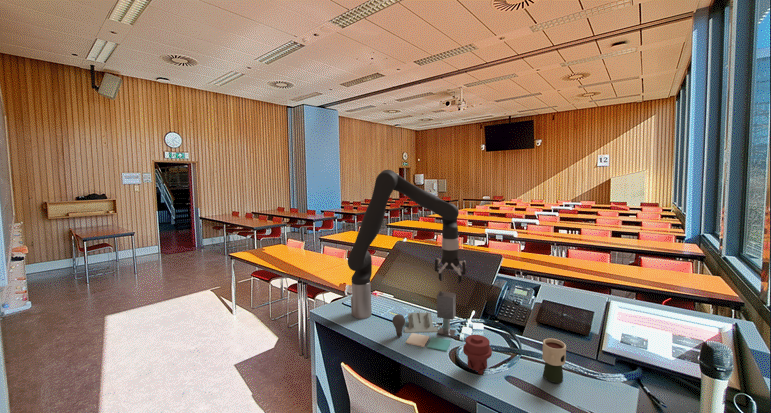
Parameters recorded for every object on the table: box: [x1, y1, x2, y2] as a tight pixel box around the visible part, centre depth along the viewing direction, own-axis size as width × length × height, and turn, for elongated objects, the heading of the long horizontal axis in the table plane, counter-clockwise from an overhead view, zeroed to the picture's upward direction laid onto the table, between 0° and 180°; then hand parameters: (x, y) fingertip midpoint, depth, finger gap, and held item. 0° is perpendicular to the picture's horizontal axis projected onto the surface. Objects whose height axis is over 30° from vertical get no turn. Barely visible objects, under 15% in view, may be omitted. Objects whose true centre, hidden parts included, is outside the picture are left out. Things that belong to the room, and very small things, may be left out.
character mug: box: [542, 338, 567, 384], centre depth 116 cm, size 11×7×13 cm, turn 148°
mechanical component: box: [462, 334, 493, 375], centre depth 122 cm, size 12×10×10 cm
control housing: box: [436, 291, 457, 338], centre depth 148 cm, size 7×5×18 cm
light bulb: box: [392, 313, 406, 338], centre depth 147 cm, size 6×6×10 cm
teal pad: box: [427, 336, 452, 352], centre depth 140 cm, size 8×8×1 cm
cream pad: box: [405, 332, 430, 348], centre depth 144 cm, size 8×8×1 cm
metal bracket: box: [404, 311, 439, 334], centre depth 156 cm, size 14×6×15 cm
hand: (450, 281), depth 155 cm, fingers open, 8 cm apart
